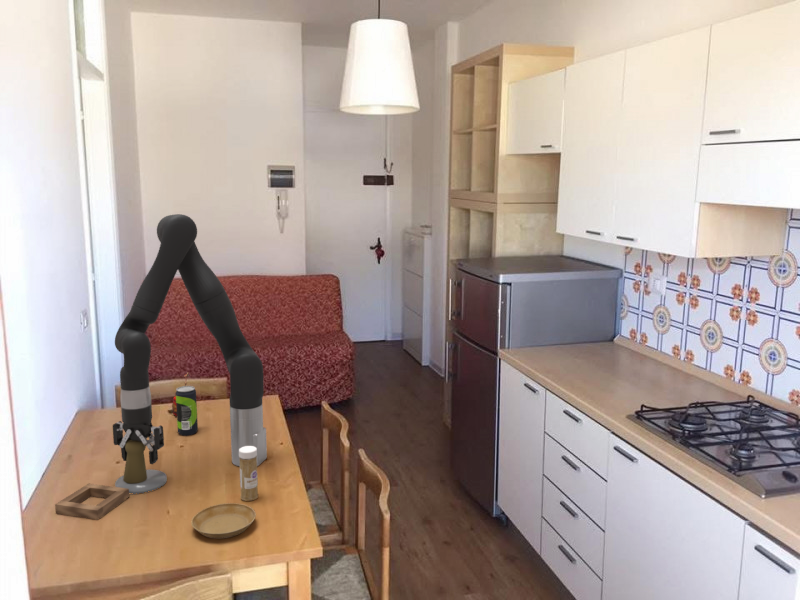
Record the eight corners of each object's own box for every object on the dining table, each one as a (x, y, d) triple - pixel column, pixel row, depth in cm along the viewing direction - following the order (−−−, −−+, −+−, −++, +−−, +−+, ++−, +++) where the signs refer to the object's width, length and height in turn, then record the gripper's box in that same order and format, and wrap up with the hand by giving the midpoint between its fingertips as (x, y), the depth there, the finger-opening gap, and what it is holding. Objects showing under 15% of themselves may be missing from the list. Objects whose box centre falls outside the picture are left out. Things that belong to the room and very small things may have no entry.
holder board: (129, 497, 173) (128, 488, 173) (97, 519, 162) (97, 510, 161) (89, 491, 176) (88, 483, 176) (55, 513, 165) (55, 504, 164)
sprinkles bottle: (252, 502, 171) (251, 453, 168) (237, 500, 172) (235, 450, 170) (261, 494, 175) (260, 446, 173) (246, 492, 176) (244, 444, 174)
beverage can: (202, 431, 219) (199, 387, 216) (186, 437, 213) (184, 392, 211) (189, 428, 222) (186, 384, 219) (173, 433, 217) (171, 389, 214)
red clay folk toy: (169, 413, 235) (167, 372, 232) (188, 409, 240) (186, 369, 237) (178, 419, 229) (175, 377, 227) (197, 415, 234) (195, 373, 231)
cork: (138, 485, 178) (138, 446, 176) (118, 481, 179) (118, 442, 177) (151, 475, 184) (152, 438, 182) (132, 471, 185) (132, 434, 183)
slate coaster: (176, 475, 186) (176, 472, 186) (147, 496, 174) (147, 493, 173) (135, 470, 189) (135, 467, 189) (104, 490, 177) (104, 487, 176)
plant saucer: (178, 537, 155) (177, 526, 154) (216, 508, 168) (216, 498, 168) (233, 549, 150) (232, 538, 149) (267, 518, 163) (267, 508, 163)
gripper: (168, 401, 179) (171, 458, 182) (121, 396, 183) (125, 453, 186) (151, 410, 172) (155, 470, 175) (103, 405, 175) (107, 464, 178)
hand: (139, 461), depth 180 cm, fingers open, 7 cm apart
